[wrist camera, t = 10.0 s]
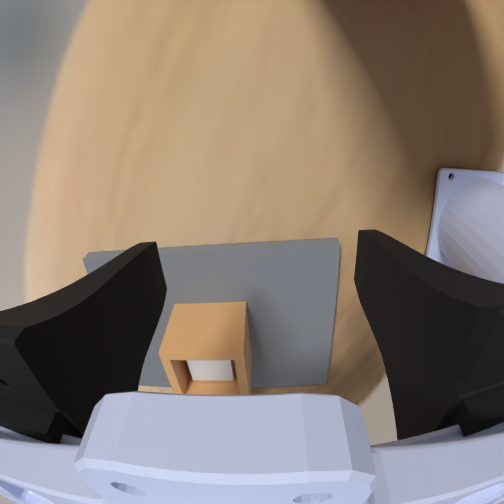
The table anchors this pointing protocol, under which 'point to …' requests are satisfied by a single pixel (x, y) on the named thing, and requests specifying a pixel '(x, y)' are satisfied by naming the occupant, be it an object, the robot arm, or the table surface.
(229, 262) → the duct board
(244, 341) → the tan square tube
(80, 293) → the robot arm
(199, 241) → the table surface
